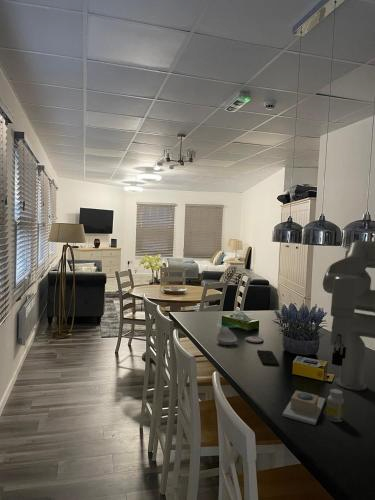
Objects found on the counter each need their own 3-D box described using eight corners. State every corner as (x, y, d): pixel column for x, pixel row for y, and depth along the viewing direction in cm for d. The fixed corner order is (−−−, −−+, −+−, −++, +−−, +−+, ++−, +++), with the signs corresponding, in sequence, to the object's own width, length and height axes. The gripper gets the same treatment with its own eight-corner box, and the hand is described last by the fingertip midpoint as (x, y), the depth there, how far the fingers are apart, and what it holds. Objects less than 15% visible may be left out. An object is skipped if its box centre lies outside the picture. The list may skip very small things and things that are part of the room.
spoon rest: (238, 348, 207) (239, 335, 206) (217, 347, 206) (218, 334, 206) (231, 336, 230) (232, 324, 230) (212, 335, 230) (213, 324, 229)
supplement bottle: (338, 415, 133) (340, 388, 133) (345, 422, 128) (347, 394, 127) (323, 414, 133) (325, 387, 132) (330, 422, 127) (332, 394, 127)
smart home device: (262, 362, 181) (256, 349, 201) (262, 366, 181) (256, 352, 201) (279, 363, 180) (272, 350, 200) (279, 367, 180) (271, 354, 200)
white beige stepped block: (296, 393, 149) (297, 381, 149) (325, 401, 144) (326, 387, 144) (282, 415, 130) (283, 401, 130) (315, 425, 125) (316, 410, 124)
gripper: (334, 307, 138) (330, 352, 139) (327, 314, 123) (323, 365, 123) (356, 310, 134) (352, 357, 135) (352, 318, 119) (347, 370, 120)
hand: (338, 361), depth 129 cm, fingers open, 9 cm apart
